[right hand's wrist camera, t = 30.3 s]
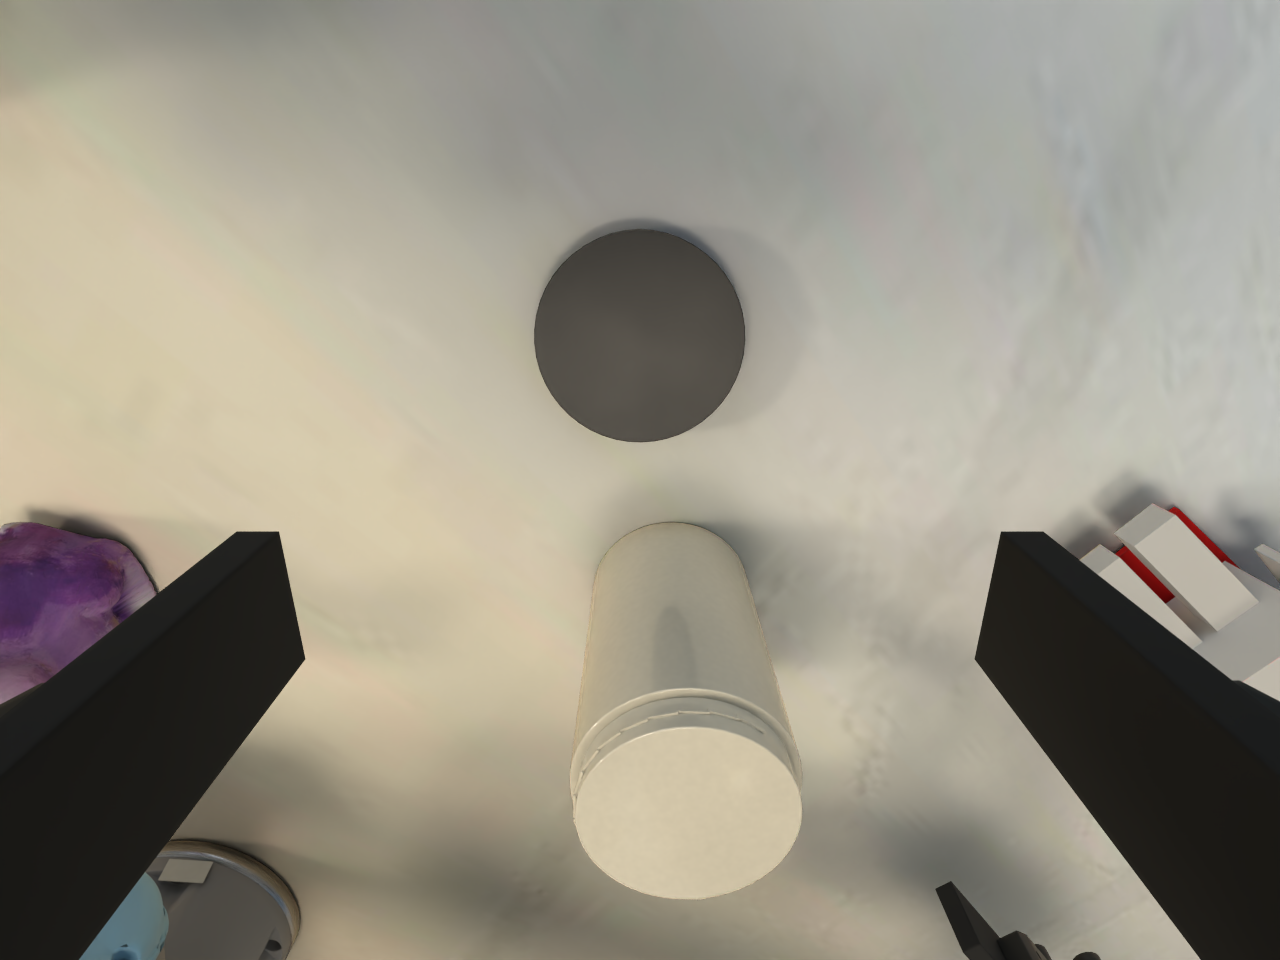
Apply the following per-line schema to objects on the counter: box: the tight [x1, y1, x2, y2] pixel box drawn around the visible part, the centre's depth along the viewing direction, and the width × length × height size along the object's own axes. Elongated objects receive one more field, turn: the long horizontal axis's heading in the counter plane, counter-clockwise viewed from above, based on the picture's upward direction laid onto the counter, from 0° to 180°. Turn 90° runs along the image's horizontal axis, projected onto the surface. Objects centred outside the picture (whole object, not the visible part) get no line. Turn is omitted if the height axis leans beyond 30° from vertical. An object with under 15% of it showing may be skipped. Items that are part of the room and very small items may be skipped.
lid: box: [534, 229, 745, 442], centre depth 39 cm, size 12×12×2 cm
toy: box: [1080, 503, 1280, 701], centre depth 43 cm, size 12×13×30 cm
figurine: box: [0, 522, 156, 704], centre depth 39 cm, size 9×10×15 cm
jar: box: [569, 522, 803, 900], centre depth 38 cm, size 10×10×19 cm
